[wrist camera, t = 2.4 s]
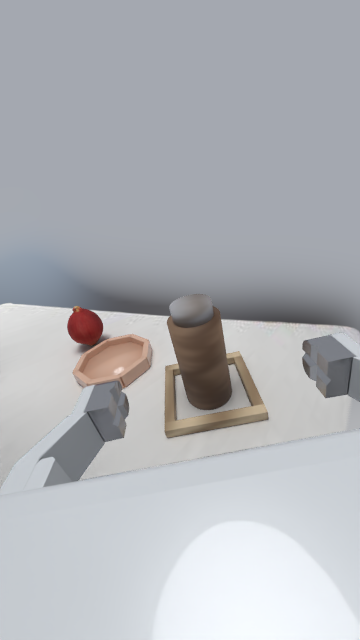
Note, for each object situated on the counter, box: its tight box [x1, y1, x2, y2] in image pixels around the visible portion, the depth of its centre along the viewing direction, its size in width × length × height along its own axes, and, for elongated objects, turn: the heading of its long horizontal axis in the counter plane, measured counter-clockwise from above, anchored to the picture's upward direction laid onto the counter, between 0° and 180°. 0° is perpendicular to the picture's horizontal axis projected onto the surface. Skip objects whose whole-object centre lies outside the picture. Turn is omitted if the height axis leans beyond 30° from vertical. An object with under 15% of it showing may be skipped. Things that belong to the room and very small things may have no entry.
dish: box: [73, 334, 152, 388], centre depth 36 cm, size 11×11×2 cm
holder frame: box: [165, 351, 268, 438], centre depth 27 cm, size 10×10×1 cm
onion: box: [67, 306, 103, 346], centre depth 42 cm, size 6×6×8 cm
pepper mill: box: [167, 294, 232, 410], centre depth 25 cm, size 5×5×12 cm
